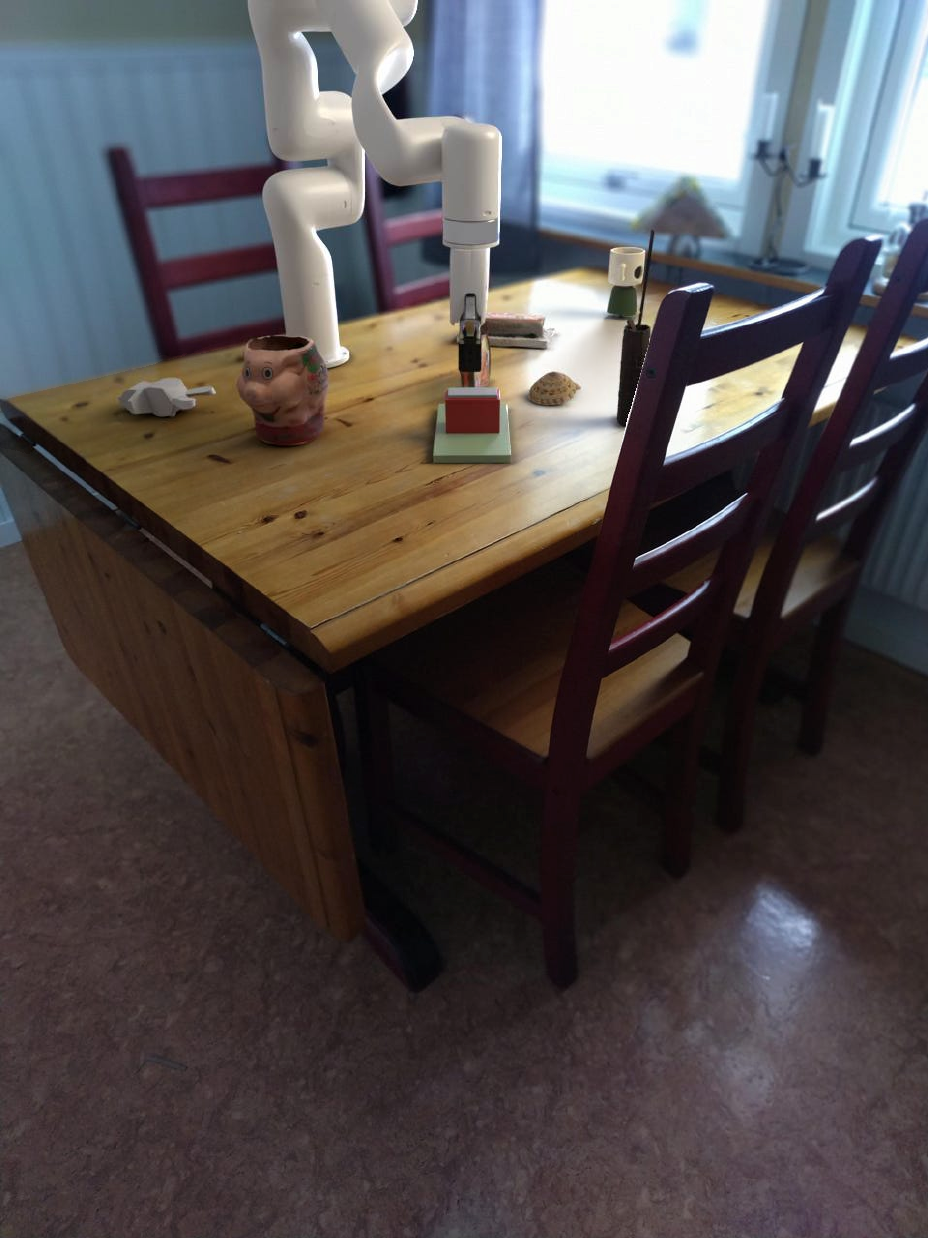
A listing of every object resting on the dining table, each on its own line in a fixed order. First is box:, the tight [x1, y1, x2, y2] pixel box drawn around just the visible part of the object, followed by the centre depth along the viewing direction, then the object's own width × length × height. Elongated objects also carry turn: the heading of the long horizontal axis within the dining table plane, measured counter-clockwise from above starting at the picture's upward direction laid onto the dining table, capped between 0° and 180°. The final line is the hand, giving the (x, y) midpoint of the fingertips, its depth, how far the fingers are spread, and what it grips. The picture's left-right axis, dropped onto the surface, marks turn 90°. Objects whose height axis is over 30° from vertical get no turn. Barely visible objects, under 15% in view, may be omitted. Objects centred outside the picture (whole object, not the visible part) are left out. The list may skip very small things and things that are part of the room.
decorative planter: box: [236, 334, 330, 446], centre depth 127 cm, size 20×12×14 cm, turn 168°
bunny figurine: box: [117, 377, 217, 418], centre depth 136 cm, size 10×5×15 cm
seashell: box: [527, 371, 582, 406], centre depth 141 cm, size 8×6×8 cm
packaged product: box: [456, 311, 555, 349], centre depth 166 cm, size 18×5×10 cm
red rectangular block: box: [444, 386, 501, 434], centre depth 126 cm, size 4×8×6 cm, turn 89°
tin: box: [459, 334, 492, 388], centre depth 142 cm, size 15×3×8 cm, turn 168°
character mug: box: [606, 246, 646, 318], centre depth 177 cm, size 11×7×13 cm, turn 161°
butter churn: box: [616, 229, 655, 428], centre depth 125 cm, size 9×10×28 cm
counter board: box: [432, 403, 512, 464], centre depth 128 cm, size 11×20×1 cm, turn 179°
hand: (470, 359), depth 122 cm, fingers open, 9 cm apart
